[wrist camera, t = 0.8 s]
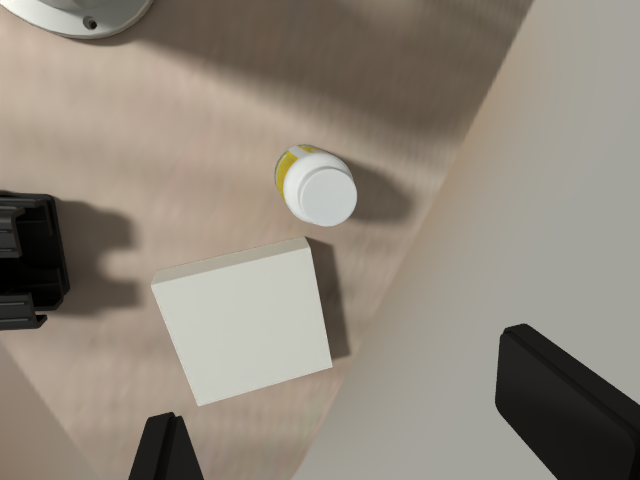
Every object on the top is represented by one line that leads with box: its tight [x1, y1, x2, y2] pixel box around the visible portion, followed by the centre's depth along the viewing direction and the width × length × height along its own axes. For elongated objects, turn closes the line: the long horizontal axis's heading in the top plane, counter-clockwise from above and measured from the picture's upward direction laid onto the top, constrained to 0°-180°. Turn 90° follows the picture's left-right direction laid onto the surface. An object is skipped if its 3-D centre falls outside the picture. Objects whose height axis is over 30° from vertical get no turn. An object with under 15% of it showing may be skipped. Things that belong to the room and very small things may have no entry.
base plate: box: [150, 236, 332, 406], centre depth 34 cm, size 14×14×3 cm
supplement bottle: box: [274, 145, 357, 227], centre depth 28 cm, size 5×5×10 cm
